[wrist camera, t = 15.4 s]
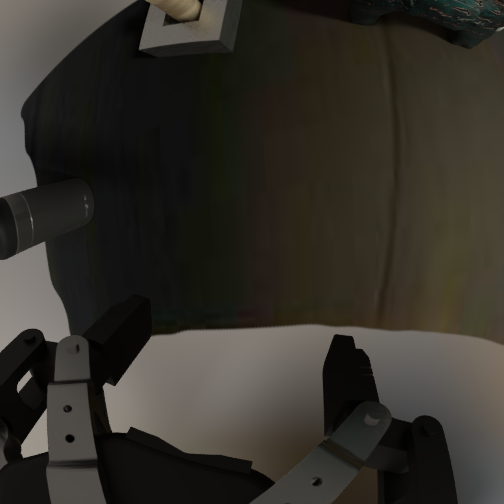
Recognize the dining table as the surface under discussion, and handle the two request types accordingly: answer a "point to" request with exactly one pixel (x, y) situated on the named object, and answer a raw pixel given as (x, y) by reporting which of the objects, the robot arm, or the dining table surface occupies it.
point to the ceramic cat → (439, 15)
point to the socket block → (192, 30)
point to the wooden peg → (180, 9)
